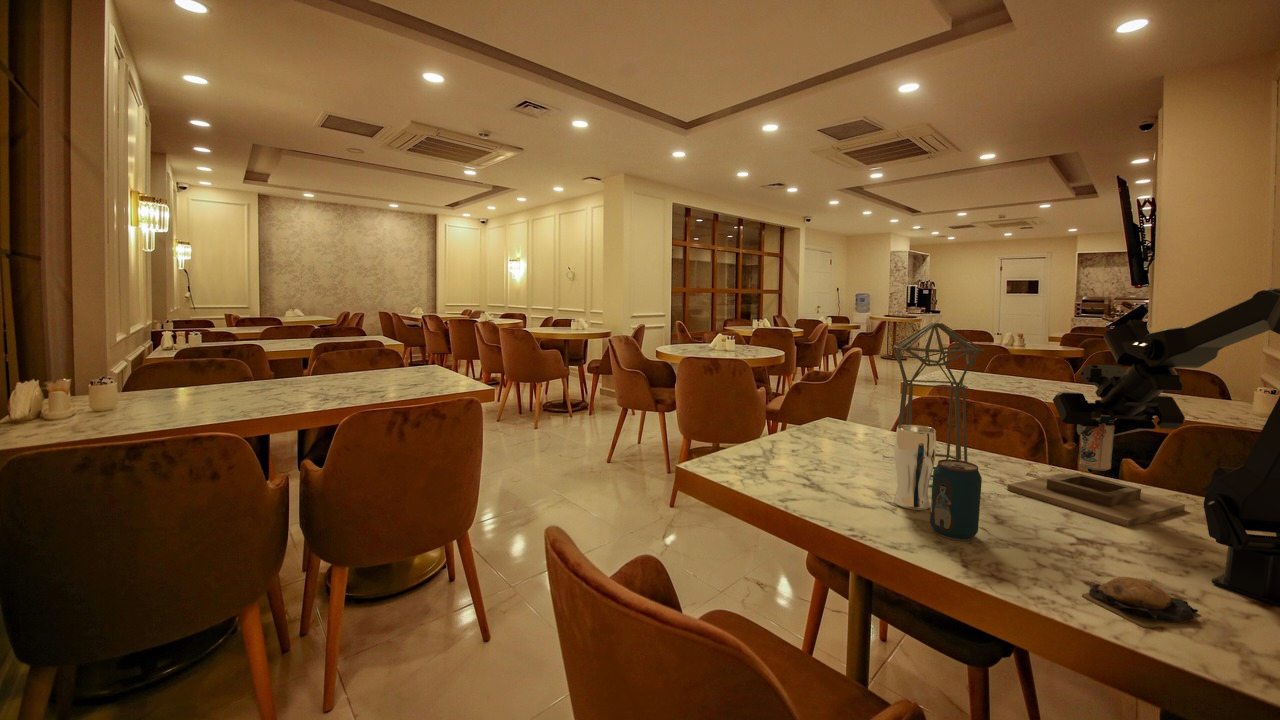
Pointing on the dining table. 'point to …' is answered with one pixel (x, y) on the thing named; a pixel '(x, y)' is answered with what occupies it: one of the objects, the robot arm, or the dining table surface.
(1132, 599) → the bread roll
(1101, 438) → the beer can
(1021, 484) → the brown square frame
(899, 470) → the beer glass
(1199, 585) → the dining table surface
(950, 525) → the soda can
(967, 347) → the geometric lantern
